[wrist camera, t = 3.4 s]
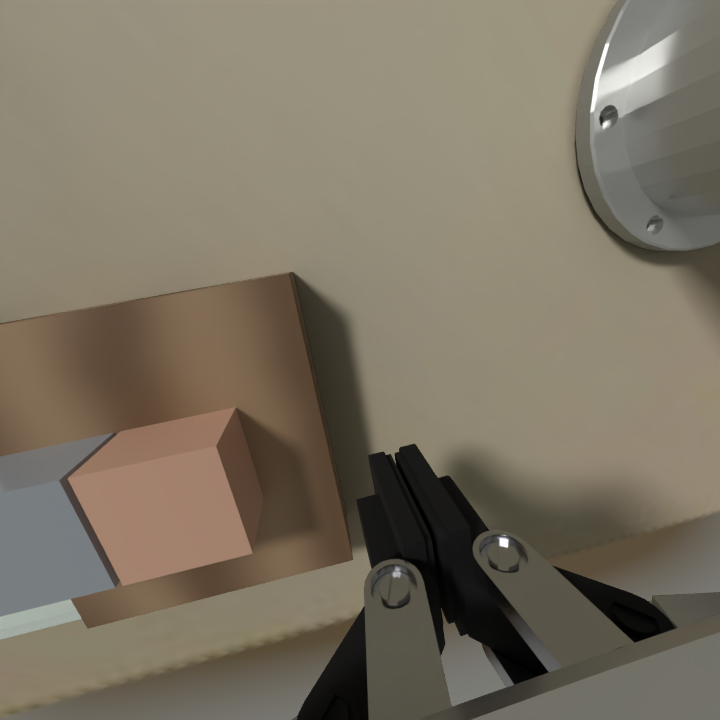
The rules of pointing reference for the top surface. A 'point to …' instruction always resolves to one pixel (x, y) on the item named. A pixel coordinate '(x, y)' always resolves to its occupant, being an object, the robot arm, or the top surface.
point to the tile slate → (48, 529)
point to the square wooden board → (188, 415)
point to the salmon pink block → (172, 496)
